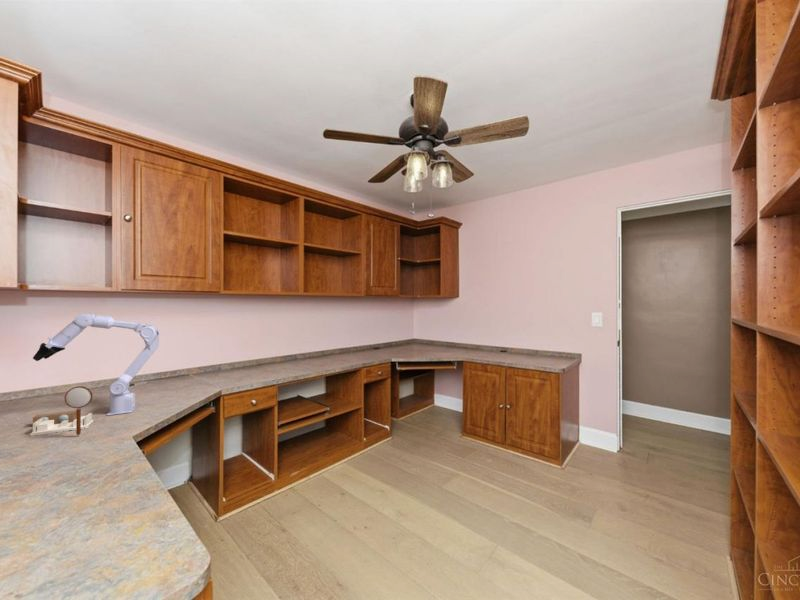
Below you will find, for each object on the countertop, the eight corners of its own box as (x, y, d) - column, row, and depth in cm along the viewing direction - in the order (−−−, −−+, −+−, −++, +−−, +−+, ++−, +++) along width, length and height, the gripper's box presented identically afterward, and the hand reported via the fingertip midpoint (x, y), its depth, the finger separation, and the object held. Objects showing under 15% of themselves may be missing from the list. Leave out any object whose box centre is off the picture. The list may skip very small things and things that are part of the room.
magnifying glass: (93, 434, 136) (93, 384, 136) (90, 435, 134) (91, 385, 134) (65, 437, 133) (66, 386, 133) (63, 438, 131) (63, 387, 131)
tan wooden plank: (76, 420, 153) (76, 410, 153) (73, 422, 149) (73, 412, 149) (36, 425, 147) (37, 414, 147) (32, 427, 143) (32, 417, 143)
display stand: (93, 421, 150) (93, 411, 150) (85, 428, 142) (85, 418, 142) (41, 428, 142) (41, 417, 142) (30, 435, 134) (30, 424, 134)
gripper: (65, 328, 159) (38, 351, 154) (51, 330, 146) (21, 354, 142) (79, 338, 161) (53, 360, 157) (67, 340, 148) (38, 365, 144)
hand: (39, 358), depth 149 cm, fingers open, 7 cm apart
